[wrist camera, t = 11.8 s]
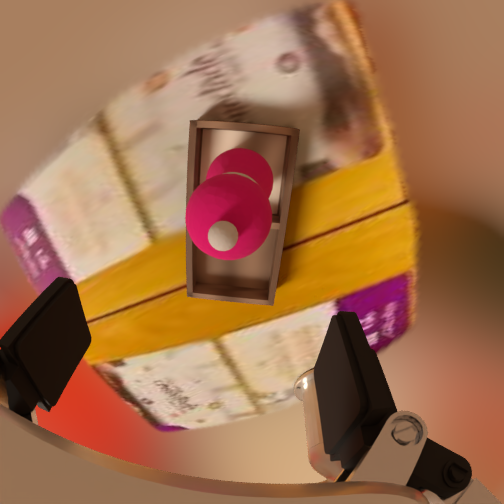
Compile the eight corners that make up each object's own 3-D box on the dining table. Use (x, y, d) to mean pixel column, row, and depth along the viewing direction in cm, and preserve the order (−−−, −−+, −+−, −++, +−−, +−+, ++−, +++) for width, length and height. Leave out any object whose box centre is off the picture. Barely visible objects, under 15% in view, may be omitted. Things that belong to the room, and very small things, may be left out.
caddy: (295, 128, 32) (299, 129, 29) (272, 291, 42) (273, 305, 39) (196, 120, 32) (190, 120, 28) (192, 283, 42) (187, 296, 39)
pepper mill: (224, 136, 32) (179, 159, 14) (281, 158, 33) (308, 208, 15) (204, 189, 35) (148, 271, 17) (258, 210, 36) (256, 309, 18)
